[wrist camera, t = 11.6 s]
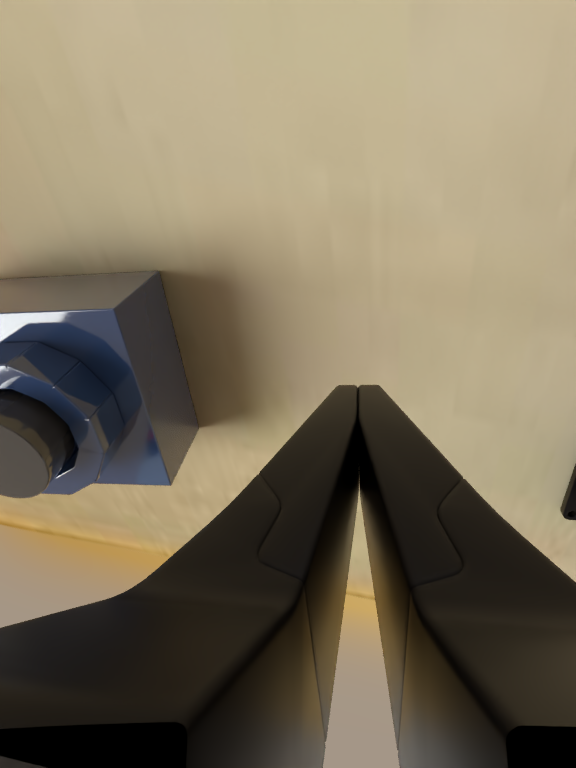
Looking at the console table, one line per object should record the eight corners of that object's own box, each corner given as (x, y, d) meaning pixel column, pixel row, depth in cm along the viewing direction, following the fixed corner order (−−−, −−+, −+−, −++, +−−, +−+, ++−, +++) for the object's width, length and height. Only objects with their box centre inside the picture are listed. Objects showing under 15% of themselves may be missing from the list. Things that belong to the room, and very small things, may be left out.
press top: (88, 467, 21) (64, 500, 19) (6, 465, 21) (-25, 497, 20) (53, 389, 18) (22, 418, 17) (-38, 390, 19) (-77, 418, 17)
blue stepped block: (199, 428, 27) (156, 517, 21) (54, 427, 29) (-24, 510, 23) (159, 270, 22) (87, 331, 16) (-16, 279, 24) (-139, 338, 18)
